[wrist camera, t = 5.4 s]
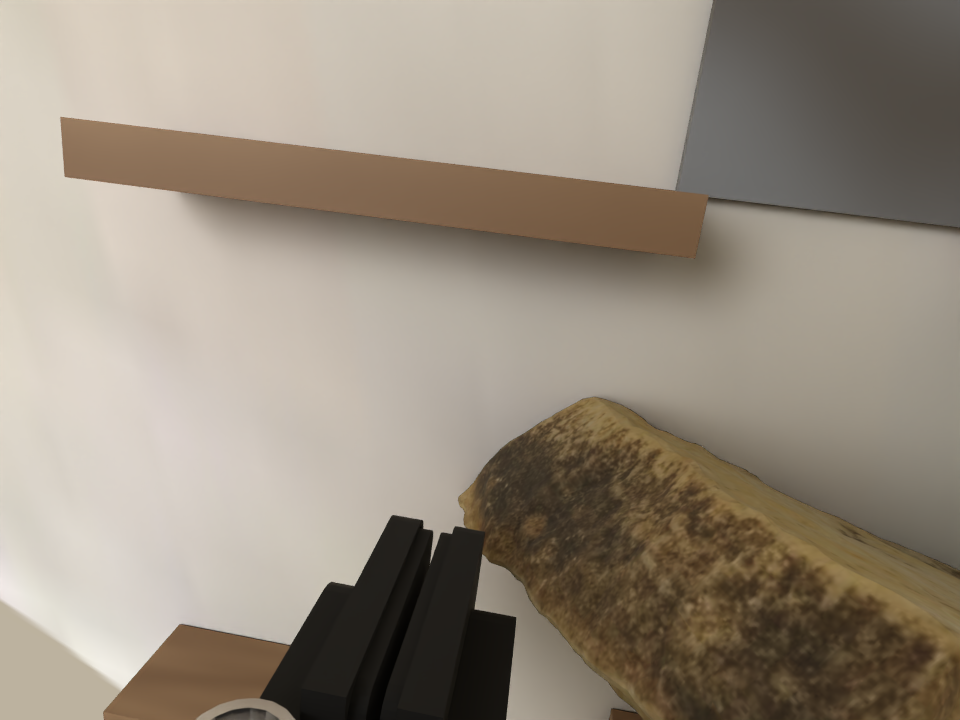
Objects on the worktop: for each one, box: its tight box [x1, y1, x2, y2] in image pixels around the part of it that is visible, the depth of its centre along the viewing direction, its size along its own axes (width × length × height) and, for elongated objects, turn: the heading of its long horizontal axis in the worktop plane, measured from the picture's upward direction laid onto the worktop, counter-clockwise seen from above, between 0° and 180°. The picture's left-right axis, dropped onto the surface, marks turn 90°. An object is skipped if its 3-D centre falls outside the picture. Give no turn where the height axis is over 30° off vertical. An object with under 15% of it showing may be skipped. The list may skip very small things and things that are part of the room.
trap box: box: [60, 0, 960, 720], centre depth 12 cm, size 20×21×4 cm
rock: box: [458, 397, 960, 720], centre depth 12 cm, size 11×9×10 cm
